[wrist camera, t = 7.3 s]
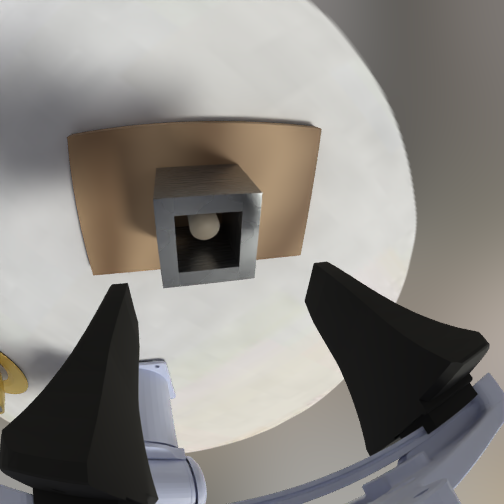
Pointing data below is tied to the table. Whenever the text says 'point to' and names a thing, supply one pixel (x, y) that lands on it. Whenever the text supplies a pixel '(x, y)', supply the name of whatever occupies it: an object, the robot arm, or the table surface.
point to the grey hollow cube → (204, 202)
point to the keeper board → (187, 154)
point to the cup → (11, 381)
